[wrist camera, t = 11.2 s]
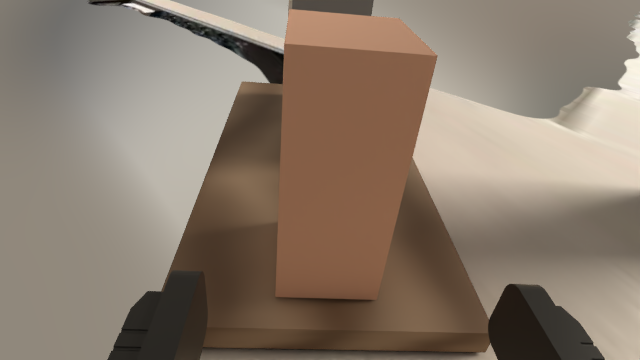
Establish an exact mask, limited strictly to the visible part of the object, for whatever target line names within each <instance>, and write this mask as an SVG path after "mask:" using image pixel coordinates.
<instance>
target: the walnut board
mask: <svg viewBox="0 0 640 360" xmlns="http://www.w3.org/2000/svg"><path fill="white" fill-rule="evenodd" d="M282 98H283V84H270V83H255V82H242V83H241V86H240V88H239V91H238V93H237V96H236V98H235V101H234V104H233V107H232V109H231V111H230V114H229V117H228V119H227V122H226V124H225V127H224V130H223V132H222V135H221V137H220V140H219V143H218V145H217V148H216V150H215V153H214V156H213V158H212V161H211V163H210V166H209V169H208V172H207V174H206V176H205V179H204V182H203V185H202V187H201V189H200V192H199V195H198V197H197V200H196V203H195V205H194V208H193V210H192V213H191V215H190V218H189V221H188V223H187V226H186V229H185V231H184V234H183V236H182V239H181V242H180V244H179V247H178V250H177V252H176V254H175V257H174V260H173V262H172V265H171V268H170V270H169V273H168V275H167V278H166V280H165V283H164V286H163V288H162V291H161V292H163V291H164V288H165V285H166V283H167V280H168V278H169V275H170V273H171V272H172V271H173V270H184V271H203V272H204V275H205V285H206V295H207V305H208V322H207V329H206V335H205V339H204V343H203V347H223V348H279V349H335V350H392V351H448V352H486V350H487V348H488V346H489V344H490V340H489V335H488V323H489V319H488V317H487V315H486V313H485V310H484V308H483V306H482V304H481V302H480V300H479V298H478V296H477V293H476V291H475V289H474V287H473V285H472V283H471V281H470V279H469V277H468V274H467V272H466V270H465V268H464V266H463V264H462V262H461V260H460V257H459V255H458V253H457V251H456V249H455V247H454V245H453V243H452V240H451V238H450V236H449V234H448V232H447V230H446V228H445V226H444V223H443V221H442V219H441V217H440V215H439V213H438V211H437V209H436V207H435V204H434V202H433V200H432V198H431V196H430V194H429V192H428V190H427V187H426V185H425V183H424V181H423V179H422V177H421V175H420V173H419V170H418V168H417V166H416V164H415V162H414V160H413V158H412V160H411V164H410V168H409V172H408V176H407V180H406V184H405V188H404V192H403V196H402V200H401V204H400V208H399V212H398V216H397V220H396V224H395V228H394V232H393V236H392V240H391V244H390V248H389V252H388V256H387V260H386V264H385V268H384V272H383V276H382V280H381V284H380V288H379V292H378V296H377V300H364V299H329V298H293V297H275V290H276V263H277V235H278V208H279V180H280V153H281V125H282Z"/></svg>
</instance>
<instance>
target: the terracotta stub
mask: <svg viewBox="0 0 640 360" xmlns="http://www.w3.org/2000/svg"><path fill="white" fill-rule="evenodd" d="M436 60H437V55H436V54H435V53H434V52H433V51H432V50H431V49H430V48H429V47H428V46H427V45H426V44H425V43H424V42H423V41H422V40H421V39H420V38H419V37H418V36H417V35H416V34H414V32H412V30H411V29H410V28H409V27H408V26H407V25H406V24H404V23H403V22H402V21H401V20H400V19H397V18H386V17H375V16H364V15H352V14H341V13H329V12H318V11H306V10H295V9H290V10H289V17H288V23H287V30H286V37H285V43H284V70H283V98H282V125H281V153H280V180H279V208H278V235H277V263H276V290H275V297H293V298H329V299H364V300H377V296H378V292H379V288H380V284H381V280H382V276H383V272H384V268H385V264H386V260H387V256H388V252H389V248H390V244H391V240H392V236H393V232H394V228H395V224H396V220H397V216H398V212H399V208H400V204H401V200H402V196H403V192H404V188H405V184H406V180H407V176H408V172H409V168H410V164H411V160H412V156H413V152H414V148H415V144H416V140H417V136H418V132H419V128H420V124H421V120H422V116H423V112H424V108H425V104H426V100H427V96H428V92H429V88H430V84H431V79H432V76H433V72H434V68H435V64H436Z"/></svg>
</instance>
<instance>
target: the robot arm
mask: <svg viewBox="0 0 640 360" xmlns="http://www.w3.org/2000/svg"><path fill="white" fill-rule="evenodd" d="M207 322H208V305H207V295H206V285H205V275H204V272H203V271H184V270H173V271H172V272H171V273H170V275H169V278H168V280H167V283H166V285H165V288H164V291H163V292H156V291H154V292H153V291H148V292H146V293H145V295H144V296H143V297H142V298H141V299H140V300H139V301H138V302H137V303H136V304H135V305H134V306H133V307H132V308H131V309H130V312H129V314H128V316H127V318H126V320H125V323H124V325H123V327H122V331H121V333H120V334H119V336H118V338H117V340H116V342H115V344H114V349H113V351H111V353H110V355H109V358H108V360H200V356H201V351H202V347H203V343H204V339H205V335H206V329H207ZM488 335H489V340H490V343H491V345H492V347H493V350H494V352H495V354H496V356H497V359H498V360H605V358H604V357H603V356H602V354H601V353H600V351H599V350H598V348H597V347H596V346H594V345H593V341H592V340H591V338H590V337H589V336H588V334H587V333H586V331H585V330H584V329H583V327H582V326H581V324H580V323H579V322H578V321H577V320H576V319H574V318H573V317H572V316H571V315H570V314H569V313H568V312H567V311H565V310H564V309H563V308H562V307H561V306H555V304H554V303H553V301H552V300H551V298H550V297H549V295H548V294H547V292H546V291H545V289H544V288H542V287H541V286H539V285H524V284H509V285H507V286H506V288H505V289H504V291H503V293H502V295H501V297H500V299H499V301H498V303H497V305H496V307H495V309H494V311H493V313H492V315H491V317H490V319H489V323H488Z"/></svg>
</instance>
